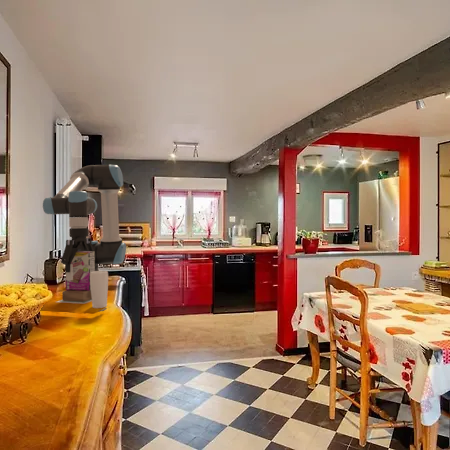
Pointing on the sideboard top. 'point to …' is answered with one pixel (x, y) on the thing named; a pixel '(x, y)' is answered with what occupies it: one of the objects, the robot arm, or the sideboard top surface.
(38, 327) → the sideboard top surface
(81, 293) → the walnut block
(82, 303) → the board
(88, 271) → the candy bar box
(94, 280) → the drinking glass
